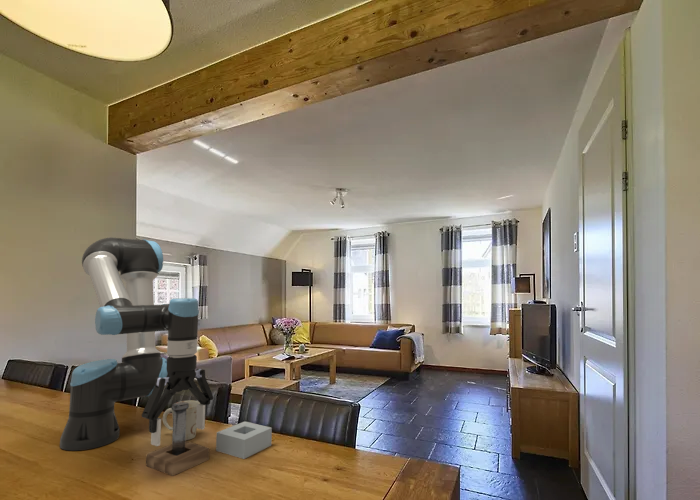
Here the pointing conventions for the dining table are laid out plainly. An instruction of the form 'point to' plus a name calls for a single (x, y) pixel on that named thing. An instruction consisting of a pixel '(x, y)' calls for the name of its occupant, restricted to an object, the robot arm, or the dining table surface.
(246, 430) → the socket
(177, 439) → the pin
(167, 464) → the block
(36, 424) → the dining table surface
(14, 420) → the dining table surface
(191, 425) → the mug
